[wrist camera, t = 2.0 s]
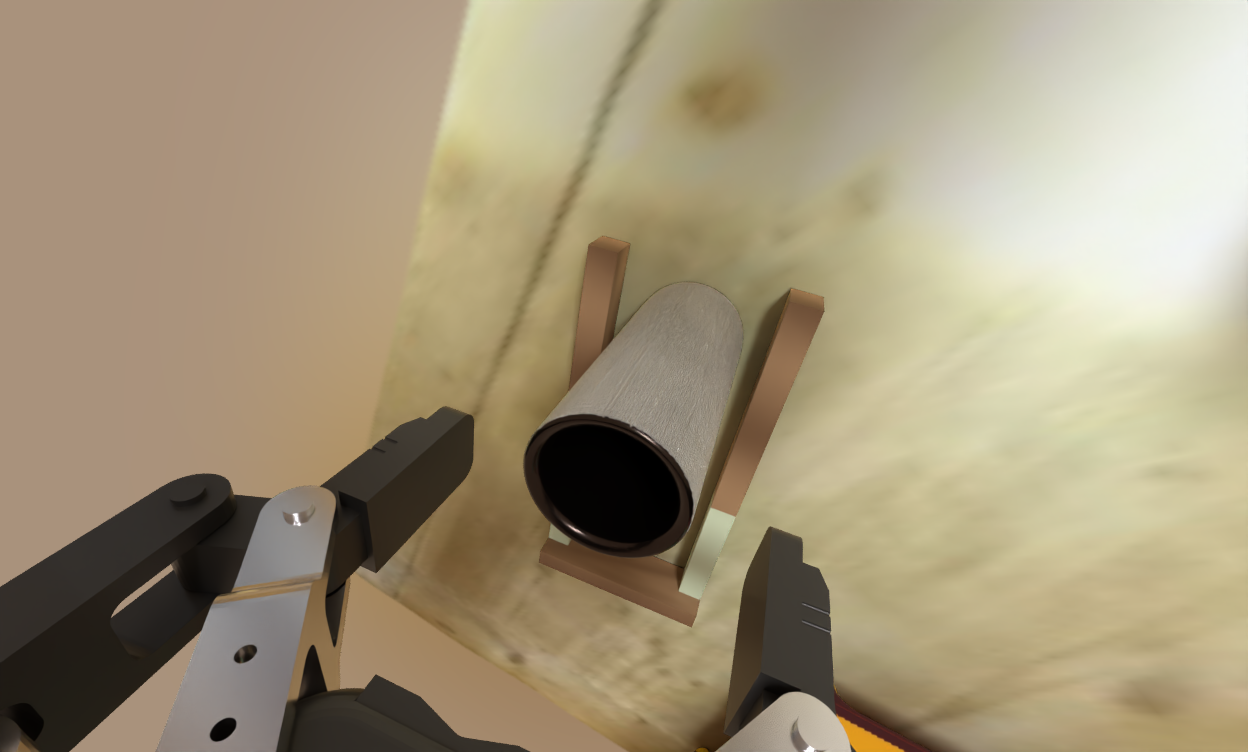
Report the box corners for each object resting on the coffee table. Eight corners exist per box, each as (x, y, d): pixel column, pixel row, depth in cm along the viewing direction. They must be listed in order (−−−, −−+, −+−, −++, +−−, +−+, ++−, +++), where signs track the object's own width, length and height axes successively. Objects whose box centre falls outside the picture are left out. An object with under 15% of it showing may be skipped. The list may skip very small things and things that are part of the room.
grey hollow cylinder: (658, 388, 22) (563, 562, 14) (623, 296, 21) (491, 430, 12) (757, 369, 20) (718, 559, 12) (726, 266, 19) (654, 400, 10)
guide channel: (602, 235, 20) (578, 251, 18) (823, 297, 18) (825, 321, 16) (558, 530, 29) (539, 562, 27) (700, 588, 28) (691, 627, 26)
